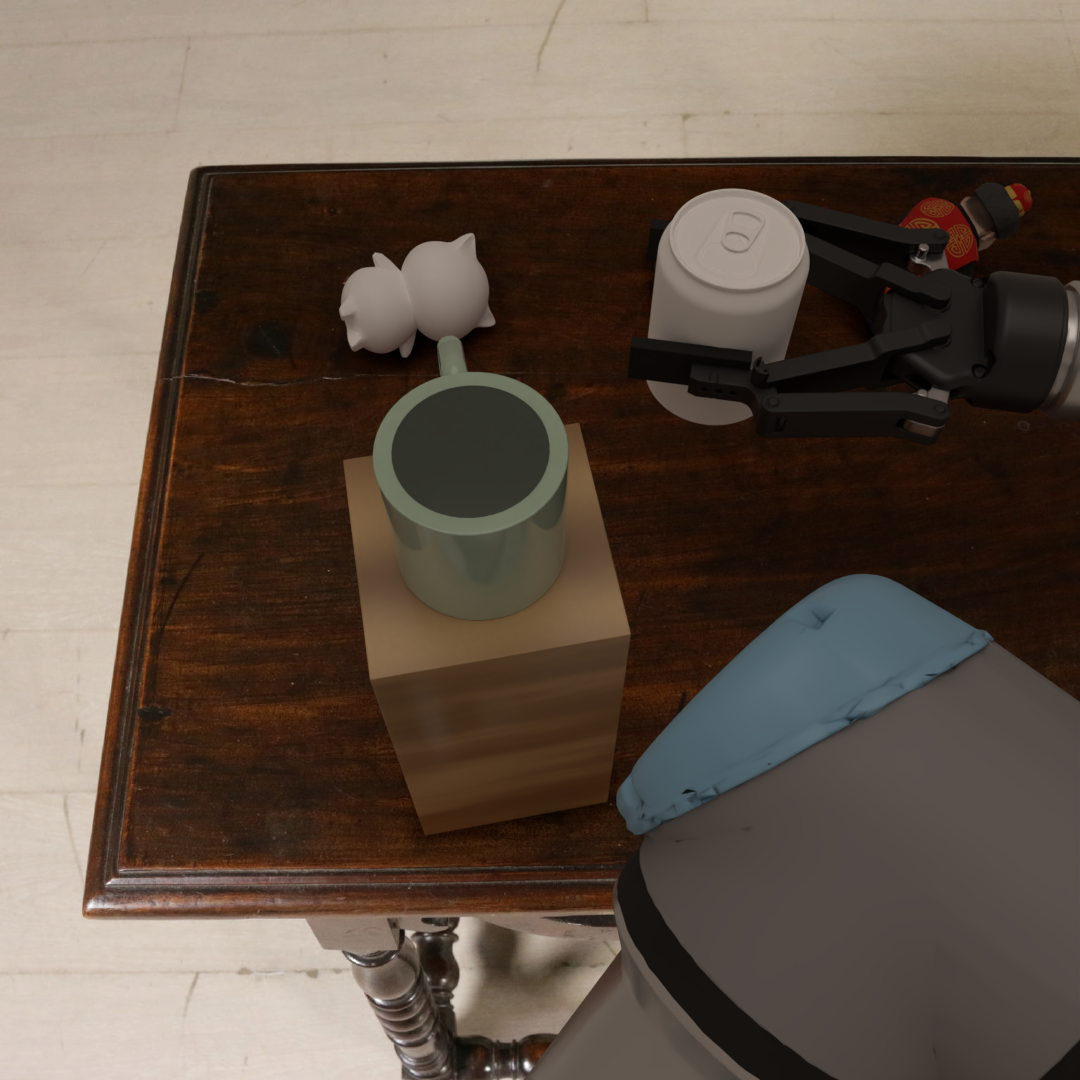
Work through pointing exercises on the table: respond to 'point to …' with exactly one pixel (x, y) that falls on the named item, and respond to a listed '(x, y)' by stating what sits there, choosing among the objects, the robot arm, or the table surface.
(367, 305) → the cat figurine
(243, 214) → the table surface
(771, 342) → the beverage can
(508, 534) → the mug
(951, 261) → the figurine
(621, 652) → the plinth
